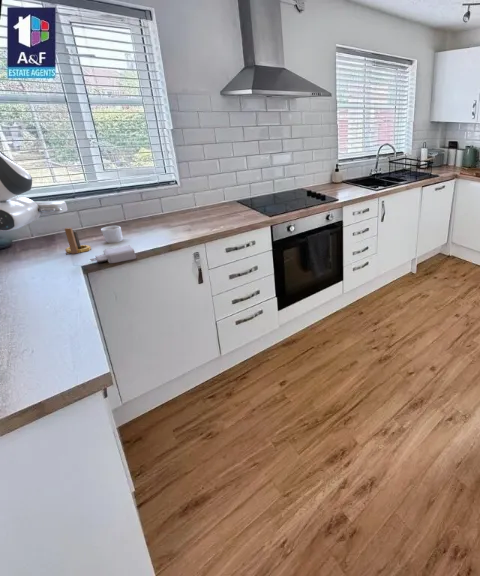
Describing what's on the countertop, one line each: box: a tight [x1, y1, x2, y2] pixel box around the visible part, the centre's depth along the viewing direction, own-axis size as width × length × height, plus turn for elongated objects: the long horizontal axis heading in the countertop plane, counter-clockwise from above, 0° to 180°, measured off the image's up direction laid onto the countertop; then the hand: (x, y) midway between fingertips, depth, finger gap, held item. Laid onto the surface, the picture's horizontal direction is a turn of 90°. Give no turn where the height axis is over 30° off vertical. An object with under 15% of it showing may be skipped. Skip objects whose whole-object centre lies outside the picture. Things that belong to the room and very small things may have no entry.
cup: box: [100, 225, 124, 244], centre depth 178 cm, size 11×8×8 cm
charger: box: [89, 244, 137, 264], centre depth 154 cm, size 5×9×15 cm
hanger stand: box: [65, 229, 90, 256], centre depth 163 cm, size 8×8×10 cm
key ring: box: [64, 227, 92, 255], centre depth 162 cm, size 10×8×11 cm
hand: (39, 203), depth 139 cm, fingers open, 8 cm apart
